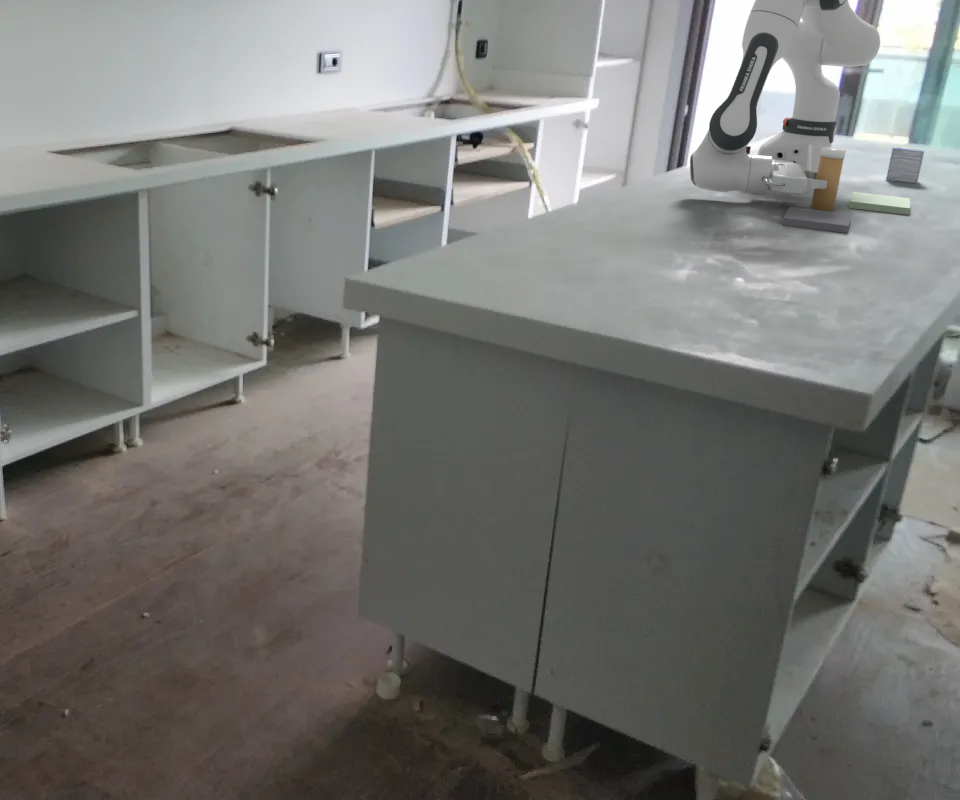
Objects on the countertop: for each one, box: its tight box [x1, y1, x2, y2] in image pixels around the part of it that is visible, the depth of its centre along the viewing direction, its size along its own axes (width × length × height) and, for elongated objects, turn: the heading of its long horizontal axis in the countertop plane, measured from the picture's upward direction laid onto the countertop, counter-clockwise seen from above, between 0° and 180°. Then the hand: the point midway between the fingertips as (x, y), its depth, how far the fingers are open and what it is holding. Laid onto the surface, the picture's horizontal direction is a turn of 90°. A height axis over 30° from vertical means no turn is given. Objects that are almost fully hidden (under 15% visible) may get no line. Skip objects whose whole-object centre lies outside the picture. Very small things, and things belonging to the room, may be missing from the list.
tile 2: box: [848, 191, 911, 216], centre depth 227 cm, size 13×13×2 cm
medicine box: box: [885, 145, 925, 184], centre depth 259 cm, size 8×4×9 cm, turn 65°
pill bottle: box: [810, 146, 847, 212], centre depth 218 cm, size 5×5×13 cm
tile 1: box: [782, 206, 852, 234], centre depth 207 cm, size 13×13×2 cm
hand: (824, 180), depth 219 cm, fingers open, 8 cm apart
